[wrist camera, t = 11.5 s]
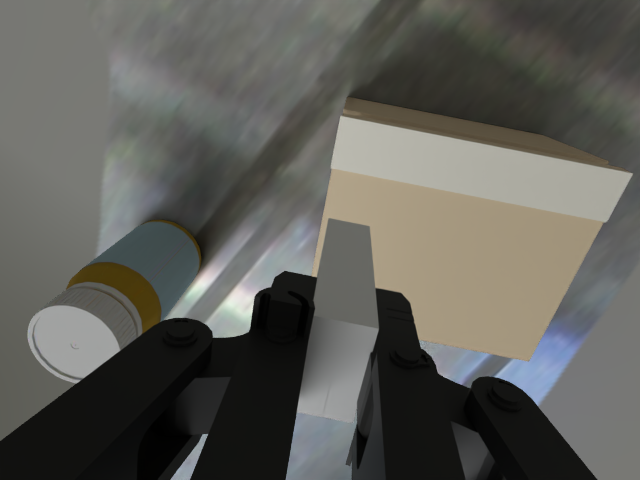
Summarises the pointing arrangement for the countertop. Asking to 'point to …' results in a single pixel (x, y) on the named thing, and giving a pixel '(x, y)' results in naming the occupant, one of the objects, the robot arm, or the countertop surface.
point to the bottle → (114, 299)
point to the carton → (465, 128)
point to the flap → (469, 227)
